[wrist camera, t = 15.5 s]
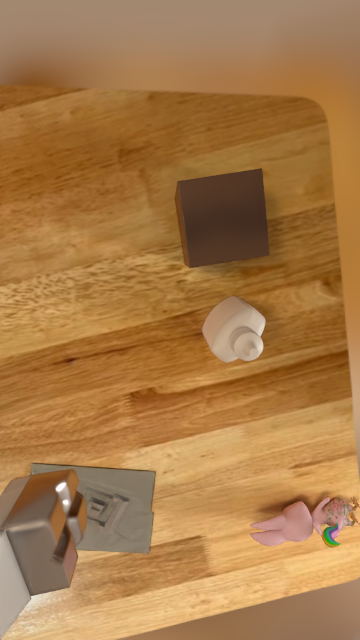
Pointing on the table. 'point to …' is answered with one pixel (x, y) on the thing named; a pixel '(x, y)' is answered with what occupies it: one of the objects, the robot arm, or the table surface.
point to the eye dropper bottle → (234, 330)
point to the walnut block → (222, 218)
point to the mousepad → (113, 507)
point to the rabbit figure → (306, 523)
